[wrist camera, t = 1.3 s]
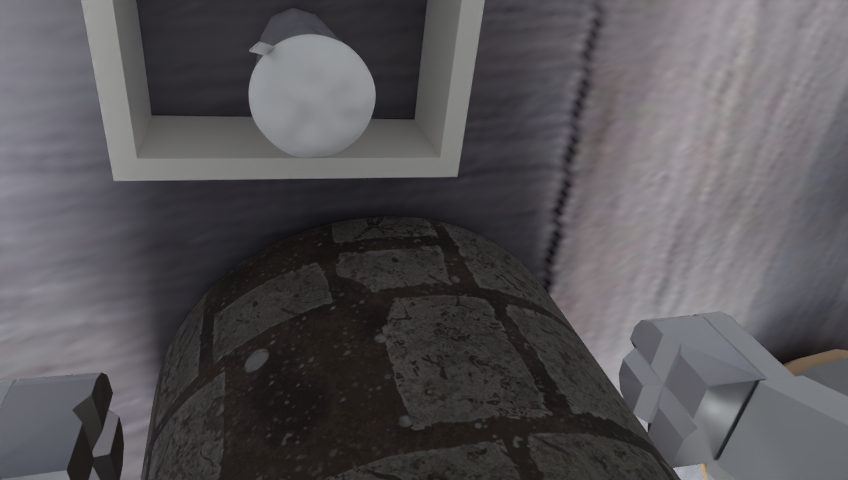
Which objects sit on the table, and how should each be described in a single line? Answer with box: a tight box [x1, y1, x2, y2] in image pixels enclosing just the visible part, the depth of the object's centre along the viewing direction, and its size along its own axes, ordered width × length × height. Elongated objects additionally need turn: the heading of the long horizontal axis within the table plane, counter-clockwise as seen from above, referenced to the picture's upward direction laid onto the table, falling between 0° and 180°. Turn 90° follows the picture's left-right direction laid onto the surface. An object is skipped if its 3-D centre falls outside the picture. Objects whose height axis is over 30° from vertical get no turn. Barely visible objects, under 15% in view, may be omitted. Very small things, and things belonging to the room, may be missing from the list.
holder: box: [81, 0, 485, 181], centre depth 26 cm, size 15×10×5 cm, turn 84°
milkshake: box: [249, 8, 376, 158], centre depth 24 cm, size 4×5×10 cm
